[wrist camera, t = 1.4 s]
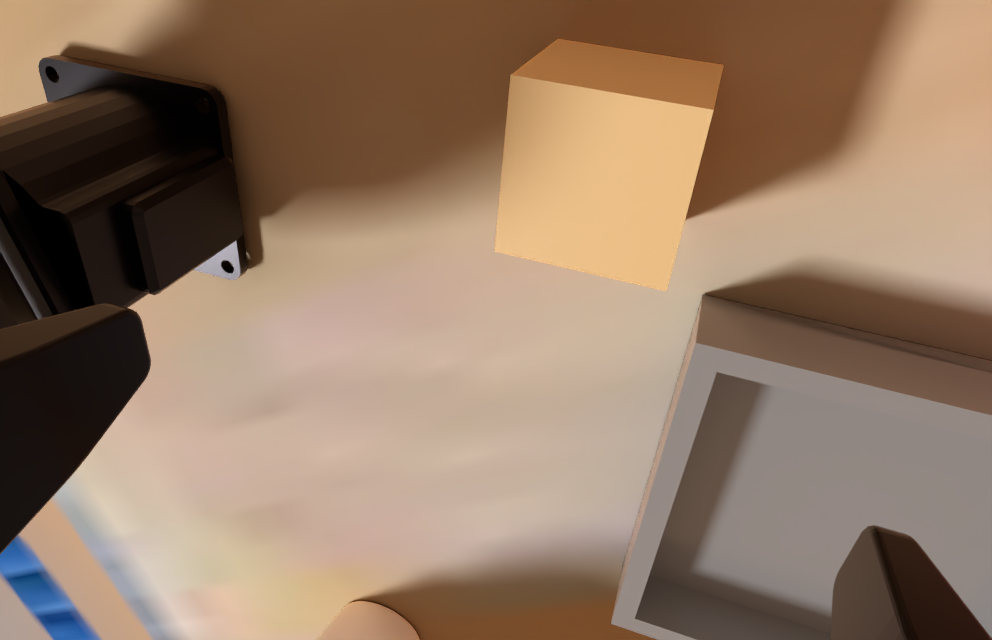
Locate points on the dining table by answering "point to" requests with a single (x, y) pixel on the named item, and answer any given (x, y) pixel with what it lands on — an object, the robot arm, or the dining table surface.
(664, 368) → the dining table surface
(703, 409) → the dish
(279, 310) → the dining table surface
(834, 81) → the dining table surface
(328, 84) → the dining table surface
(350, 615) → the soft serve ice cream cone
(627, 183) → the block
